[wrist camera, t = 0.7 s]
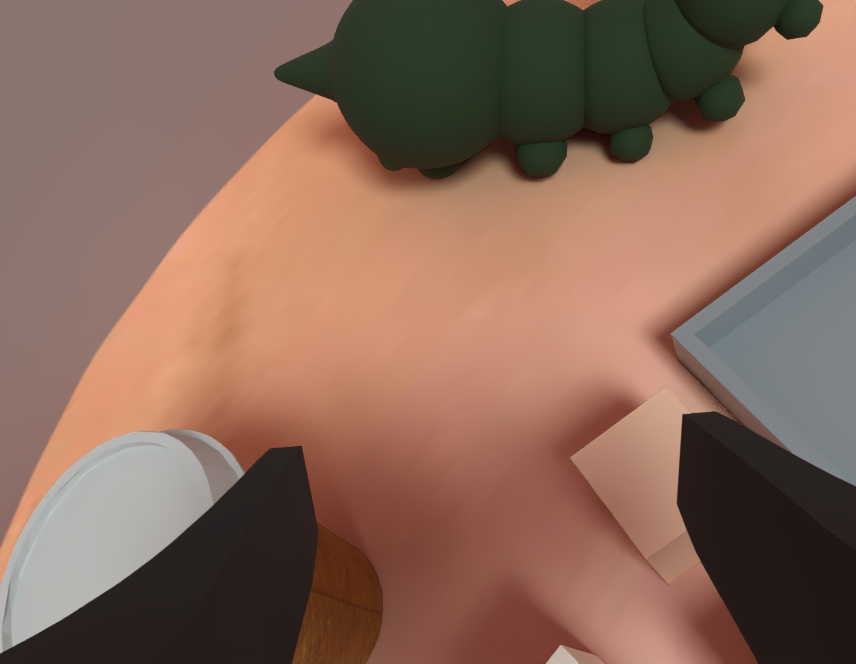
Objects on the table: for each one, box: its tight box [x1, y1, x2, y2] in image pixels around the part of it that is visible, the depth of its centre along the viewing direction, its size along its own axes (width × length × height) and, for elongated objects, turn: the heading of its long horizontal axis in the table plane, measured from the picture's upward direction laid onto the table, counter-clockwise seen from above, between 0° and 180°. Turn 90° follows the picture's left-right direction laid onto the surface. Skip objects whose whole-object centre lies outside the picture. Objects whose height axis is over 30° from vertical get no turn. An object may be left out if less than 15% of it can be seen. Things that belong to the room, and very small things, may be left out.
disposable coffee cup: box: [0, 429, 382, 664], centre depth 24 cm, size 10×10×12 cm
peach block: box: [570, 387, 701, 584], centre depth 23 cm, size 4×4×5 cm
